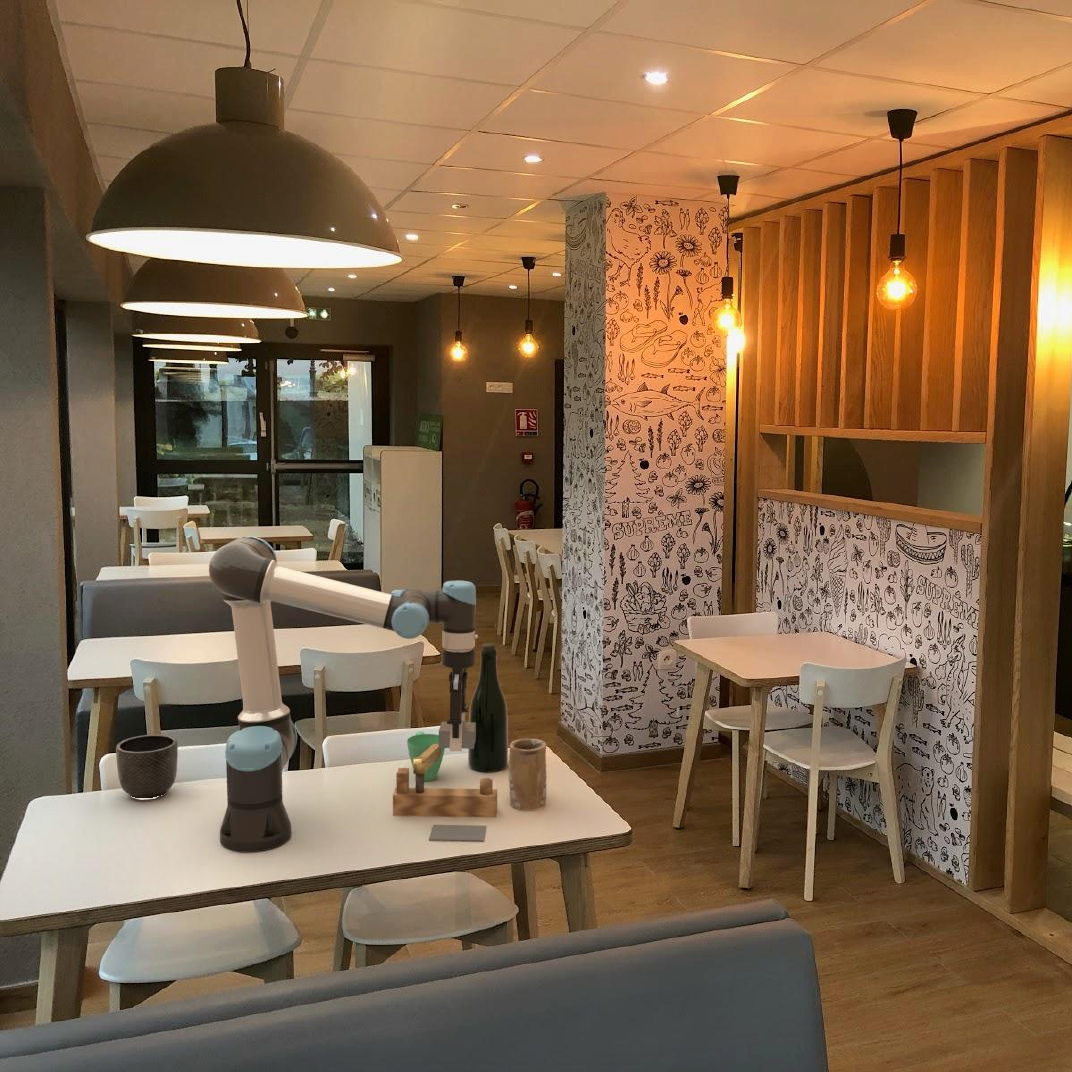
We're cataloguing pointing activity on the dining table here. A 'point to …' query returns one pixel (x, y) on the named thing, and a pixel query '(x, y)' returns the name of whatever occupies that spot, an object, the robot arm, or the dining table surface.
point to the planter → (147, 765)
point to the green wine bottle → (489, 717)
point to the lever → (426, 759)
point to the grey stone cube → (467, 735)
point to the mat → (458, 833)
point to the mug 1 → (419, 746)
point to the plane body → (442, 799)
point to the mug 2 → (527, 774)
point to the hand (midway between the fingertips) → (457, 745)
